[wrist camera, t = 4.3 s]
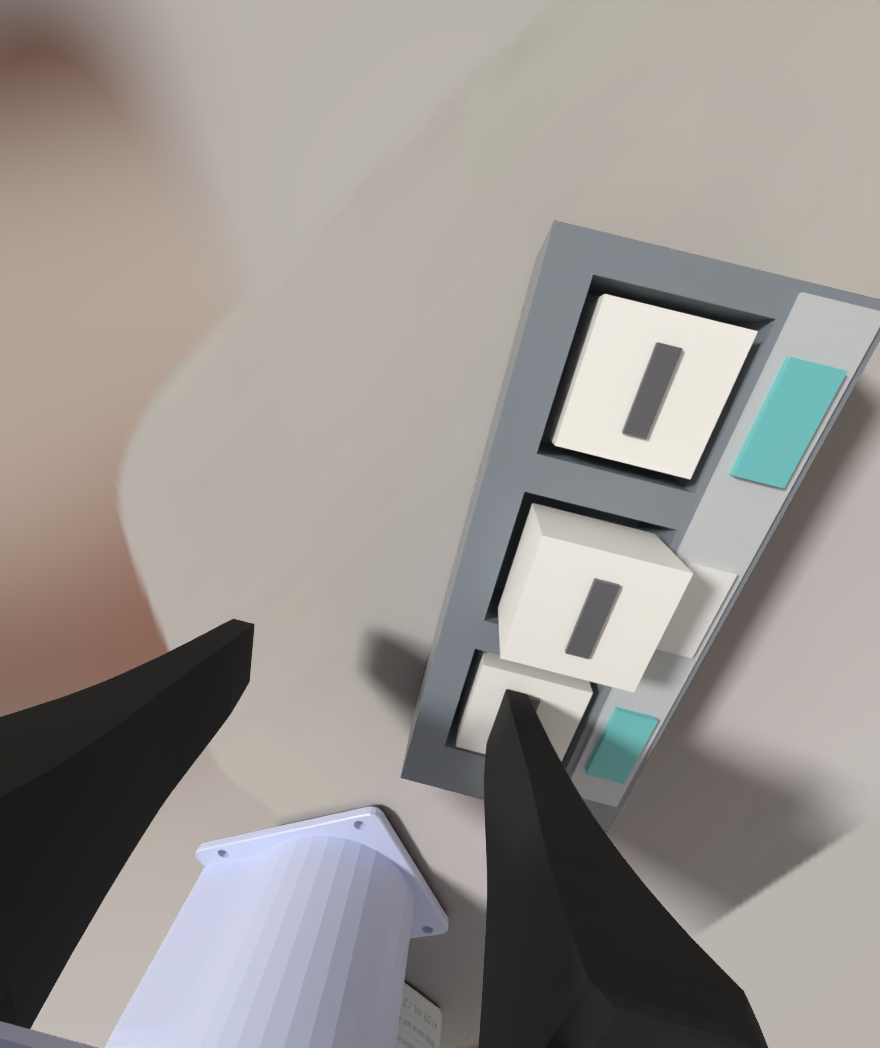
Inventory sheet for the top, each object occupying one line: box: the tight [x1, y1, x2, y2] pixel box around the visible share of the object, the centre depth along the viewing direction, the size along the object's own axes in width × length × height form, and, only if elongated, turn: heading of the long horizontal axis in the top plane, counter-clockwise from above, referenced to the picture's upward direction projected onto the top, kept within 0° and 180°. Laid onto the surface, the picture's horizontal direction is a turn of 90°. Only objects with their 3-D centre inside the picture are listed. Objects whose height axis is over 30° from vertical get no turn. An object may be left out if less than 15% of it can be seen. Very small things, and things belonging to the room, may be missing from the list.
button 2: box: [544, 294, 758, 479], centre depth 10 cm, size 3×3×2 cm
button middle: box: [498, 503, 693, 693], centre depth 10 cm, size 3×3×2 cm
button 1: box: [456, 649, 593, 762], centre depth 13 cm, size 3×3×2 cm
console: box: [401, 220, 880, 832], centre depth 12 cm, size 15×7×3 cm, turn 167°
